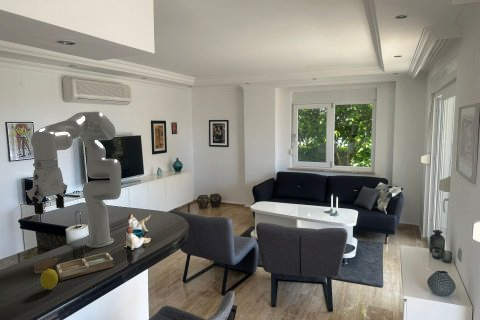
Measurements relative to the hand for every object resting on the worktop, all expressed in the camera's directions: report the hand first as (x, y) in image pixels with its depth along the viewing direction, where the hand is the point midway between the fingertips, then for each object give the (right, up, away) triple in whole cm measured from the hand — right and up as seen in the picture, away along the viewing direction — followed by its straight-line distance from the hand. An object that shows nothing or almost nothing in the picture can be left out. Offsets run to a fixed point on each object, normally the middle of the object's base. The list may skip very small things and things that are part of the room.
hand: (50, 210), depth 125 cm
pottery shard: (-13, -27, +19) cm, 36 cm away
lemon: (+1, -29, -2) cm, 29 cm away
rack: (+7, -26, +14) cm, 31 cm away
